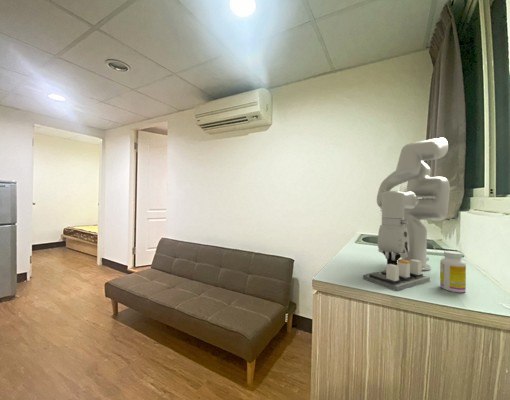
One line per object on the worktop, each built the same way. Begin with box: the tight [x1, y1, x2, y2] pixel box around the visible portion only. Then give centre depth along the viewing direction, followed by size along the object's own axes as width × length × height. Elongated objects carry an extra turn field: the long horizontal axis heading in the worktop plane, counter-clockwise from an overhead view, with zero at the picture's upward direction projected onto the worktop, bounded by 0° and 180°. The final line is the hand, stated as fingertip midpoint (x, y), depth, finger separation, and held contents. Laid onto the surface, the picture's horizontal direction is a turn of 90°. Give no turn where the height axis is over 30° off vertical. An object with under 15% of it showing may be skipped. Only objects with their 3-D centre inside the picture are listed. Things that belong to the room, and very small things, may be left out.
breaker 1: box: [385, 263, 399, 281], centre depth 80 cm, size 2×3×5 cm
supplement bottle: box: [439, 250, 467, 293], centre depth 78 cm, size 7×7×13 cm
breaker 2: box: [410, 259, 423, 275], centre depth 87 cm, size 2×3×5 cm
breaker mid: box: [397, 258, 410, 278], centre depth 84 cm, size 2×3×6 cm
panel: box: [362, 269, 431, 292], centre depth 86 cm, size 21×13×2 cm, turn 118°
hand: (391, 269), depth 88 cm, fingers closed
